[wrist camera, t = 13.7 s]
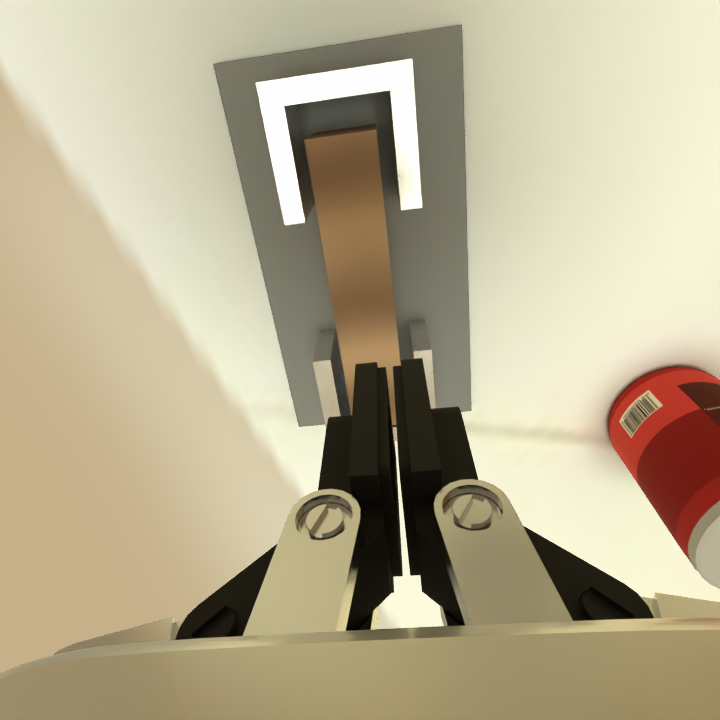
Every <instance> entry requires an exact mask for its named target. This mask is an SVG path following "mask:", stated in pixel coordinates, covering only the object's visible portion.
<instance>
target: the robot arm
mask: <svg viewBox="0 0 720 720" xmlns="http://www.w3.org/2000/svg"><path fill="white" fill-rule="evenodd" d="M393 378H394V394H395V410H396V425H397V441H398V457H399V471H400V482H401V491H402V501H403V510H404V519H405V529H406V538H407V547H408V557H409V566H410V575H421V585H422V592H424V593H425V594H426V595H427V596H429V597H430V598H431V599H433V600H434V601H435V602H436V603H438V604H439V605H440V610H441V617H442V621H443V624H444V626H442V627H419V628H397V629H376V626H377V619H378V618H377V617H378V616H377V607H378V606H379V605H380V604H381V603H382V602H383V601H384V600H385V599H386V598H387V597H388V596H389V595H390V594H391V593H393V592H394V583H393V576H402V555H401V538H400V520H399V503H398V485H397V468H396V454H395V444H394V435H393V426H392V417H391V408H390V398H389V389H388V380H387V371H386V367H379V368H378V365H377V362H371V363H360V364H355V378H354V393H353V409H352V415H348V416H336V417H329V418H328V421H327V428H326V435H325V443H324V450H323V458H322V465H321V473H320V480H319V488H318V491H315V492H312V493H310V494H308V495H306V496H305V497H303V498H301V499H300V500H299V501H298V502H297V503H296V504H295V505H294V506H293V508H292V510H291V511H290V513H289V515H288V517H287V520H286V523H285V525H284V528H283V531H282V533H281V536H280V539H279V541H278V544H276V545H275V546H274V547H273V548H271V549H270V550H269V551H268V552H266V553H265V554H264V555H262V556H261V557H260V558H258V559H257V560H256V561H255V562H253V563H252V564H251V565H249V566H248V567H247V568H246V569H244V570H243V571H242V572H240V573H239V574H238V575H236V576H235V577H234V578H233V579H231V580H230V581H229V582H227V583H226V584H225V585H224V586H222V587H221V588H220V589H219V590H217V591H216V592H215V593H213V594H212V595H211V596H209V597H208V598H207V599H206V600H204V601H203V602H202V603H200V604H199V605H198V606H197V607H196V608H195V609H194V610H193V611H192V612H190V614H188V615H187V617H186V618H185V620H182V621H178V622H176V621H175V620H174V617H170V618H167V619H163V620H159V621H155V622H152V623H148V624H144V625H141V626H137V627H133V628H130V629H126V630H122V631H119V632H115V633H111V634H108V635H104V636H100V637H97V638H93V639H89V640H86V641H82V642H78V643H75V644H72V645H70V646H67V647H65V648H63V649H61V650H59V651H58V652H56V653H55V654H54V655H52V656H49V657H46V658H42V659H39V660H35V661H32V662H29V663H26V664H22V665H20V666H17V667H15V668H12V669H10V670H8V671H5V672H3V673H1V674H0V720H720V602H714V601H707V600H700V599H694V598H687V597H681V596H674V595H667V594H661V593H655V595H654V598H653V599H652V598H645V597H640V596H639V595H638V594H637V593H636V592H635V591H633V590H632V589H631V588H629V587H628V586H627V585H625V584H624V583H622V582H620V581H618V580H617V579H615V578H613V577H612V576H610V575H608V574H606V573H605V572H603V571H601V570H599V569H598V568H596V567H594V566H592V565H591V564H589V563H587V562H585V561H584V560H582V559H580V558H578V557H577V556H575V555H573V554H571V553H570V552H568V551H566V550H564V549H563V548H561V547H559V546H557V545H556V544H554V543H552V542H550V541H549V540H547V539H545V538H543V537H542V536H540V535H538V534H537V533H535V532H533V531H531V530H530V529H528V528H526V527H524V526H523V525H522V523H521V521H520V519H519V517H518V516H517V514H516V512H515V510H514V508H513V506H512V504H511V502H510V500H509V499H508V498H507V496H506V495H505V494H504V492H503V491H501V490H500V489H499V488H497V487H496V486H494V485H492V484H490V483H487V482H485V481H481V480H478V477H477V473H476V469H475V465H474V461H473V457H472V454H471V450H470V446H469V442H468V438H467V434H466V430H465V426H464V422H463V419H462V415H461V411H460V408H459V407H458V406H457V407H445V408H433V409H431V406H430V400H429V394H428V388H427V382H426V376H425V371H424V365H423V359H422V358H415V359H404V360H401V366H393Z"/></svg>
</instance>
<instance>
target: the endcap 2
mask: <svg viewBox="0 0 720 720" xmlns="http://www.w3.org/2000/svg"><path fill="white" fill-rule="evenodd" d="M409 331H410V342H411V353H412V359H415V358H422V359H423V365H424V371H425V376H426V382H427V388H428V394H429V400H430V406H431V409H433V408H436V406H435V391H434V376H433V362H432V349H431V344H430V340H429V336H428V331H427V327H426V322H425V319H423V320H414V321H409ZM313 367H314V372H315V376H316V381H317V386H318V391H319V396H320V401H321V406H322V411H323V416H324V421H325V426H326V428H327V421H328V418H329V417H336V416H348V415H351V411H350V405H349V399H348V396H347V395H346V389H345V384H344V378H343V372H342V366H341V360H340V354H339V349H338V343H337V337H336V331H335V329H331V330H322V331H319V335H318V340H317V344H316V349H315V353H314V358H313ZM392 426H393V435H394V441H397V425H392Z"/></svg>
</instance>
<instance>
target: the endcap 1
mask: <svg viewBox="0 0 720 720" xmlns="http://www.w3.org/2000/svg"><path fill="white" fill-rule="evenodd" d="M256 86H257V91H258V96H259V101H260V106H261V111H262V116H263V121H264V126H265V131H266V136H267V141H268V145H269V150H270V155H271V160H272V165H273V170H274V175H275V180H276V185H277V190H278V195H279V200H280V204H281V209H282V214H283V219H284V224H285V225H289V224H297V223H305V222H306V220H307V218H308V216H309V214H310V212H311V210H312V208H313V206H314V203H313V197H312V191H311V185H310V179H309V174H308V168H307V162H306V156H305V150H304V144H303V139H302V133H301V127H300V121H299V115H298V109H297V104H300V103H307V102H313V101H320V100H327V99H333V98H340V97H347V96H354V95H360V94H367V93H374V92H381V91H387V90H388V98H389V109H390V120H391V132H392V143H393V154H394V165H395V176H396V187H397V196H398V200H399V204H400V209H401V210H407V209H414V208H422V198H421V183H420V168H419V154H418V139H417V124H416V109H415V94H414V79H413V64H412V59H408V60H401V61H395V62H388V63H382V64H375V65H369V66H362V67H356V68H349V69H343V70H336V71H330V72H323V73H317V74H310V75H304V76H297V77H291V78H284V79H278V80H271V81H265V82H258V83H256Z"/></svg>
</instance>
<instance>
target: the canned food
mask: <svg viewBox="0 0 720 720" xmlns="http://www.w3.org/2000/svg"><path fill="white" fill-rule="evenodd" d="M609 434H610V438H611V442H612V445H613V447H614V449H615V450H616V452H617V453H618V455H619V456H620V458H621V459H622V461H623V462H624V464H625V465H626V467H627V468H628V470H629V471H630V473H631V474H632V476H633V477H634V479H635V480H636V482H637V483H638V485H639V486H640V488H641V489H642V491H643V492H644V494H645V495H646V497H647V498H648V500H649V501H650V503H651V504H652V506H653V507H654V509H655V510H656V512H657V513H658V515H659V516H660V518H661V519H662V521H663V522H664V524H665V525H666V527H667V528H668V530H669V531H670V533H671V534H672V536H673V537H674V539H675V540H676V542H677V543H678V545H679V546H680V548H681V549H682V551H683V552H684V554H685V555H686V556H687V558H688V559H689V561H690V562H691V564H692V565H693V566H694V568H695V569H696V570H697V571H698V572H699V573H700V575H701V576H702V577H703V578H704V579H705V580H706V581H707V582H708V583H710V584H711V585H713V586H715V587H717V588H719V589H720V380H718V379H717V378H715V377H714V376H712V375H710V374H707V373H704V372H701V371H699V370H696V369H693V368H686V367H671V368H666V369H661V370H658V371H655V372H652V373H650V374H647V375H645V376H644V377H642V378H640V379H638V380H637V381H635V382H634V383H633V384H631V385H630V386H629V387H628V388H627V389H626V390H625V391H624V392H623V393H622V394H621V395H620V396H619V398H618V399H617V401H616V402H615V404H614V406H613V408H612V410H611V412H610V417H609Z"/></svg>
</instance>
